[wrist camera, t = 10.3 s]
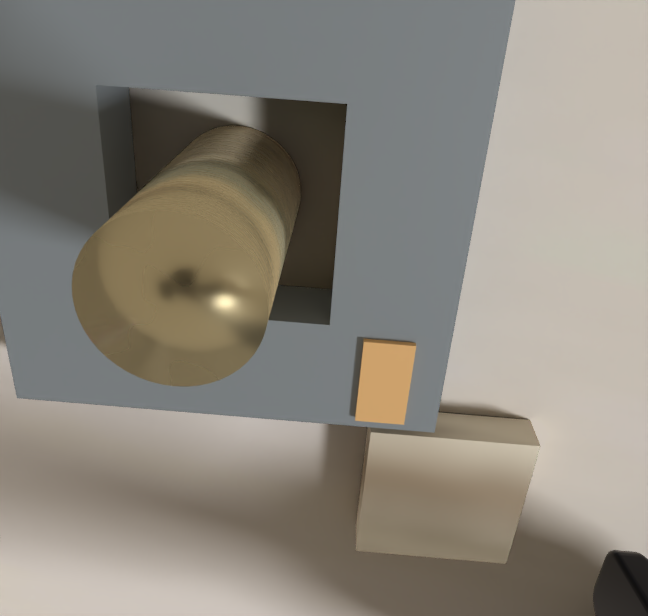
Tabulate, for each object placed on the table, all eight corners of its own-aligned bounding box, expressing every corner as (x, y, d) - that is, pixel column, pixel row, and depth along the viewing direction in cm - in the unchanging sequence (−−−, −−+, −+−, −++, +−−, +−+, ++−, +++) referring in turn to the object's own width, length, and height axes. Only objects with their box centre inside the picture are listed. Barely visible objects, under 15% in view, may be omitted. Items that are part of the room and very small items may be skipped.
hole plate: (427, 389, 23) (435, 436, 20) (50, 358, 23) (14, 401, 21) (502, -50, 16) (528, -56, 14) (-24, -87, 16) (-90, -100, 14)
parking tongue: (498, 534, 26) (506, 564, 25) (356, 522, 26) (355, 550, 25) (530, 419, 23) (540, 446, 22) (370, 406, 23) (370, 432, 22)
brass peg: (298, 253, 20) (265, 394, 13) (178, 243, 21) (83, 378, 13) (304, 130, 19) (270, 219, 12) (172, 120, 19) (59, 202, 12)
